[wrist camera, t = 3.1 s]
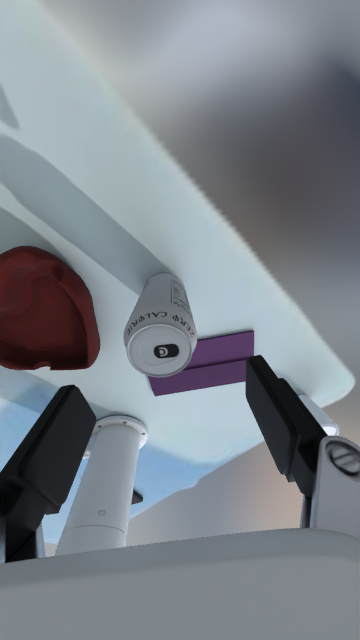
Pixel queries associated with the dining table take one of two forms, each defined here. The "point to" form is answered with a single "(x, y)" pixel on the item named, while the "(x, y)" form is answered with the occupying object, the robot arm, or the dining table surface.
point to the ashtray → (44, 313)
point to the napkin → (210, 365)
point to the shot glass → (320, 416)
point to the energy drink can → (161, 328)
